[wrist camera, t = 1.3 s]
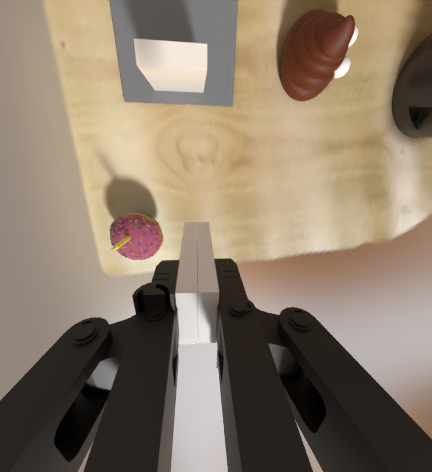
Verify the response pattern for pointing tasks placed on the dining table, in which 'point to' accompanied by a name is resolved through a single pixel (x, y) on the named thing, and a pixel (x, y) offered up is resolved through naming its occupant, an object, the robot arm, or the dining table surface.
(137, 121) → the dining table surface
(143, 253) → the cupcake
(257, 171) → the dining table surface
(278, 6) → the dining table surface
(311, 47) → the poop emoji
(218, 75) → the slate board
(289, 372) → the robot arm
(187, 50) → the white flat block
